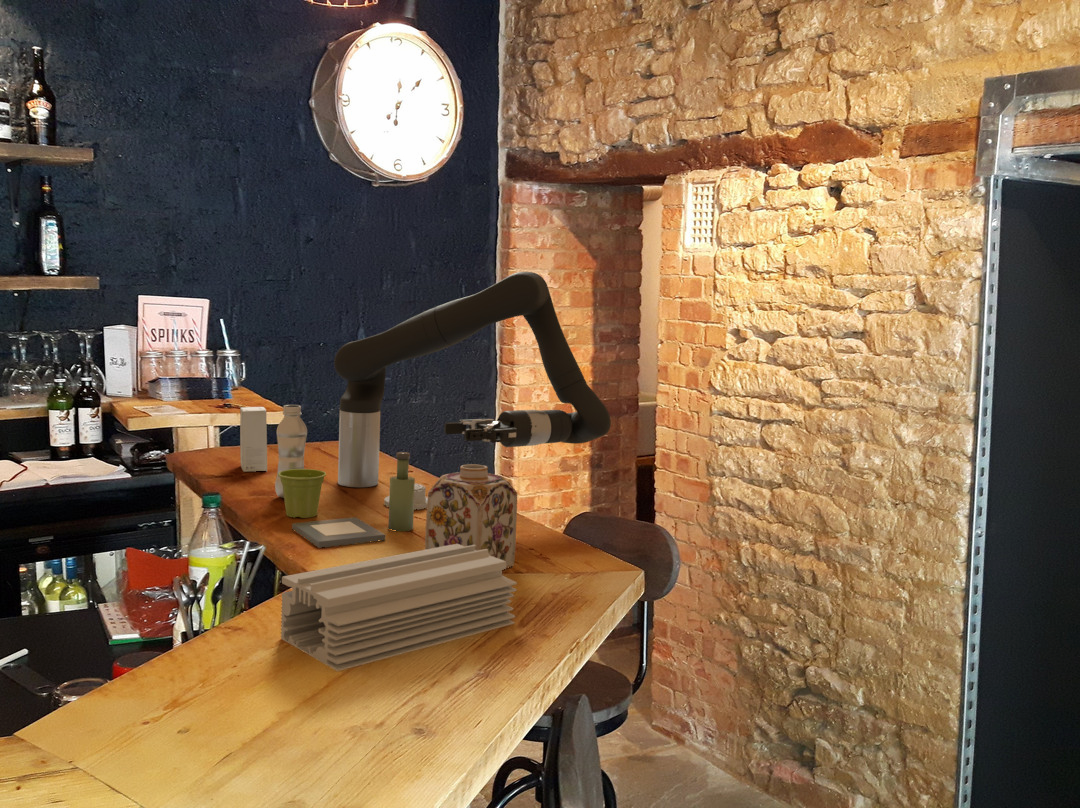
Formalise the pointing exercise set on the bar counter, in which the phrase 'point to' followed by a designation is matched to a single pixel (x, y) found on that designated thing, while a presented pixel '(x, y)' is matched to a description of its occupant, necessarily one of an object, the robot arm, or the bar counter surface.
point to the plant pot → (301, 491)
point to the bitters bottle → (401, 496)
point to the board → (337, 532)
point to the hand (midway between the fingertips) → (455, 432)
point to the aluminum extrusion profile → (395, 604)
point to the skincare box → (253, 439)
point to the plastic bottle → (290, 443)
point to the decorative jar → (473, 512)
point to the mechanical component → (416, 497)
